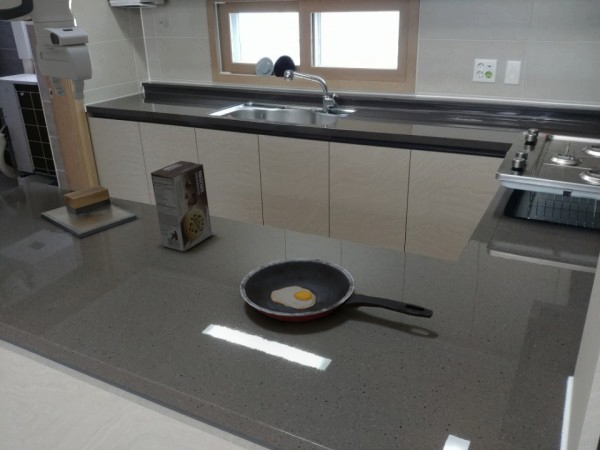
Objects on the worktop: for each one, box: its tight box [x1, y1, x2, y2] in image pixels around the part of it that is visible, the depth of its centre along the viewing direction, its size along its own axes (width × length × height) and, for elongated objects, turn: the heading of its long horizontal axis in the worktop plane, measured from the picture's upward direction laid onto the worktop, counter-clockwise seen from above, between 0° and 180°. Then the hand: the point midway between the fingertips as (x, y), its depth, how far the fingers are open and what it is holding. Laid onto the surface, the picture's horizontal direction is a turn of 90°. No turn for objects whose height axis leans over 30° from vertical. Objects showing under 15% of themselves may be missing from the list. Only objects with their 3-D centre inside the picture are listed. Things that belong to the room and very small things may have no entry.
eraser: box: [63, 184, 112, 215], centre depth 131 cm, size 5×9×4 cm, turn 137°
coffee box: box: [150, 160, 213, 252], centre depth 110 cm, size 9×6×16 cm
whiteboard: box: [40, 203, 137, 239], centre depth 128 cm, size 20×14×1 cm
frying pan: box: [239, 257, 434, 323], centre depth 86 cm, size 19×32×4 cm, turn 61°
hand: (70, 97), depth 126 cm, fingers open, 8 cm apart
